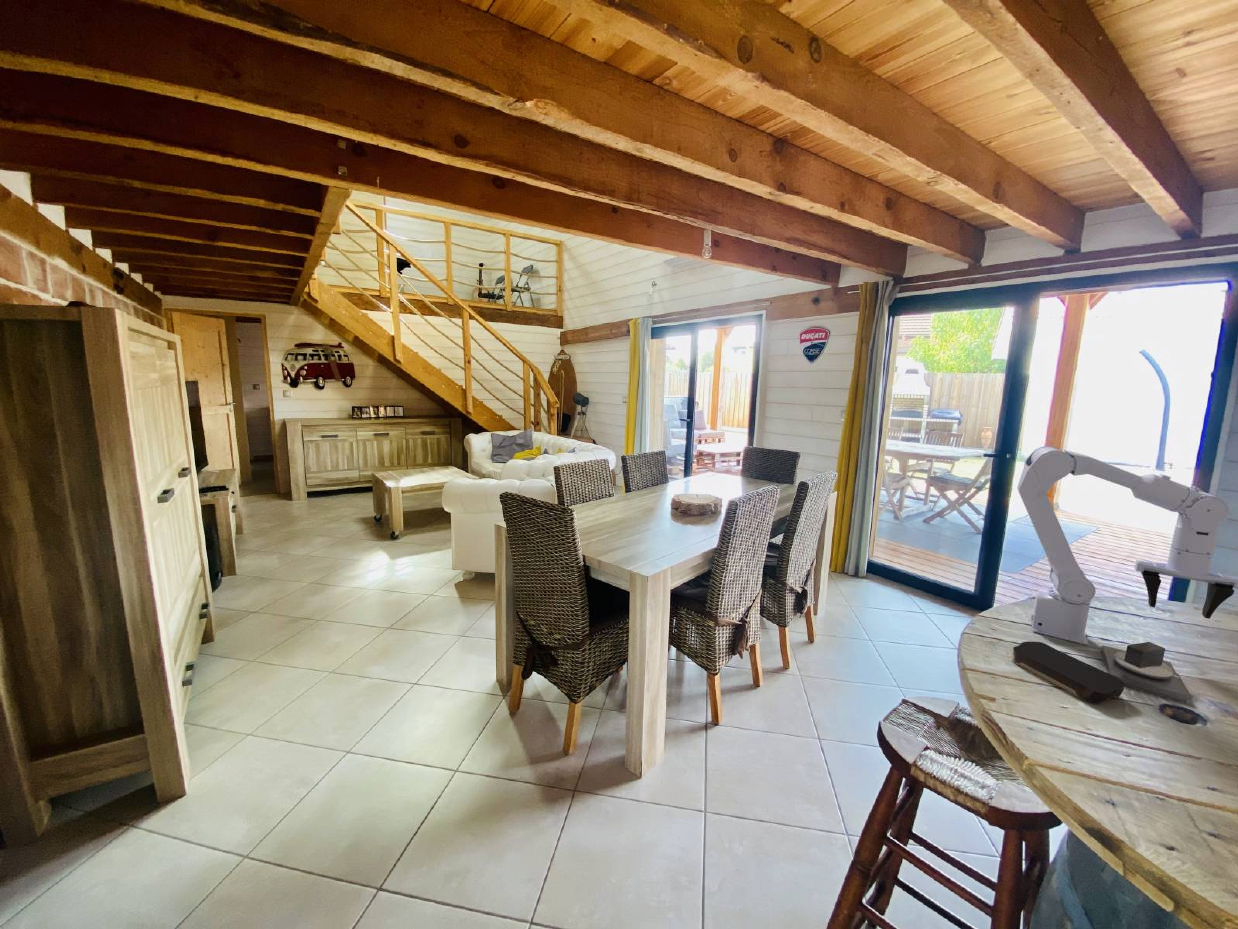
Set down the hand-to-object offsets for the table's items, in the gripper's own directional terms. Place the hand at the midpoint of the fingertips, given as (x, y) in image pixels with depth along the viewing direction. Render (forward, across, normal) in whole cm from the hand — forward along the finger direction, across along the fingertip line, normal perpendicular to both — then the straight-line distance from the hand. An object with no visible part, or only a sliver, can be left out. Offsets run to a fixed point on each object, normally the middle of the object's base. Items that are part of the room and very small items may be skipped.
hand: (1178, 610), depth 102 cm
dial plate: (+10, +6, +14) cm, 18 cm away
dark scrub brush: (+11, +18, +26) cm, 33 cm away
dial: (+9, +6, +14) cm, 17 cm away
